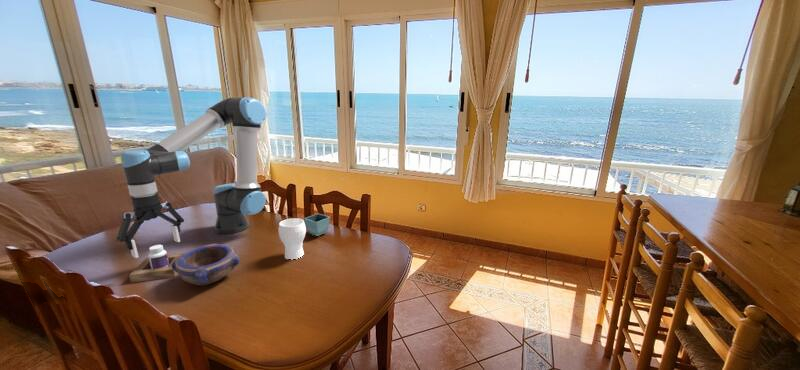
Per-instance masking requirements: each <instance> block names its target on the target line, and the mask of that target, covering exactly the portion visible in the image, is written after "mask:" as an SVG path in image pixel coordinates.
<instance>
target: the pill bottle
mask: <svg viewBox="0 0 800 370" xmlns="http://www.w3.org/2000/svg"><path fill="white" fill-rule="evenodd" d="M148 249H149V253H148V257H147V258H149V262H150V266H151V269H156V268H164V267H168V266H169V261H168V256H167V255H168V253H167V251H166V250H165V249H164V246H163V244H155V245H152V246H150V247H149V248H148Z"/></svg>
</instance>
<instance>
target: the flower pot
mask: <svg viewBox="0 0 800 370" xmlns="http://www.w3.org/2000/svg"><path fill="white" fill-rule="evenodd" d="M330 218H331V217H330V216H328V215H324V214H323V213H322V214H321V213H316V214H312V215H310V216H307V217H304V219H303V220H304V223H305V226H306V231H307V232H308V233H309V235H310V234H312V235H311V236H313V235H315V236H319V235H321V234H324V233H325V234H326V233H327V231H328V230H329V227H330V220H331V219H330ZM325 234H324V235H325ZM315 236H314V237H315ZM319 237H320V236H319Z"/></svg>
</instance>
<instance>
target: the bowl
mask: <svg viewBox="0 0 800 370" xmlns="http://www.w3.org/2000/svg"><path fill="white" fill-rule="evenodd" d="M184 253H185V254H183V255H182V256H180V257H179V258H177V259H176V260H175V261H174V262H173V263H172V268H173V269H174V270H175V271H176V272H178V273H177V275H179V277H180V278H181V280H183V281H185V282H186V283H188V284H191V285H196V286H207V285H209V284H210V285H211V284H213V283H215V282H219V281H221V280H222V278H225V277H226V276H227V275H229V273H230V272H231V271H232V270H234V268H236V267H237V266H238V265H239V264H240V262H241V260H240V258H241V257H240V256H239V255H238V254H237V253H236V252H235V251H234V249H233V248H232V247H230V246H228V245H226V244H220V243H212V244H206V245H202V246H198V247H195V248H193V249H190V250H188V251H186V252H184Z"/></svg>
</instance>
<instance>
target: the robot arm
mask: <svg viewBox="0 0 800 370" xmlns="http://www.w3.org/2000/svg"><path fill="white" fill-rule="evenodd" d="M266 117H267V112H266V108H265V105H264V104H262V102H261V101H260V100H258V99H257V98H253V97H248V96H247V97H227V98H225V99H223V100H221V101H219V102H217V103H216V104H214V105H212V106H210V107H208V108H207V109H205V113H204V114H203V115H200V116H199V117H198V118H196V119H195V120H193V121H191V122H189V123H187V124H186V125H185V126H183V127H182V128H180V129H178V130H177V131H175V132H173V133H171V134H170V135H169V136H167V137H165V138H163V139H162V140H160V141H159V142H157V143H155V144H154V145H152V146H150V147H149V148H143V149H136V150H133V149H132V150H126V151H123V152H122V153H120V161H121V167H122V169H123V173H124V176H125V180H126V183H127V184H126V185H127V188H128V193H129V196H131V197H130V201H131V204H132V207H133V211H129V212H127V211H124V212H123V213H122V222H121V224H120V228H119V230H118V233H117V236H116V241H117V242H120V243H124V244H125V247H126V249H127V250H128V251H130V252H131V256H132V257H133V258H135V259H137V258H139V257H140V256H139V253H138V249H137V245H136V241H135V239H134V237H135V235H136V233H137V232H138V231H139V229H140V227H141V226H142V225H143V223H144V222H145V221H150V220H153V219H157V218H158V217H160V218H161V219H164V220H165V221H167V222H169V223H171V224H172V225H170V227H171V231H172V236H173V237H172V238H173V241H175V242H177V243H180V242H181V238H180V233H181V225H182V223H184V222H185V219H184V218H183V217H182V216H181V215H180V214H179V212H177V211H176V210H175V209H174V207H173V206H172V203H171V202H169V201H164V202H163V203H161V200H160V197H159V193H158V187H157V183H156V179H155V176H161V175H165V174H170V173H177V172H182V171H187V170H188V169H189V168H190V166H191V161H190V157H189V155H188V154H187V153H186V152H185V150H187V149H188V148H190V147H191V146H193V145H195V144H196V143H197V142H200V140H202V139H203V138H205V137H206V136H208V135H209V134H211V133H212V132H214V131H215V130H217V129H218V128H220V129H221V128H222V129H223V128H224V127H225V126H227V125H230V124H231V125H232V128H233V129H234V130H235V131H236V132H235V134H236V135H235V138H236V139H235V140H236V146H235V147H236V182H232V183H231V182H230V183H225V184H221V185H220V184H219V185H216V186H215V187H213V198H214V204H215V210H216V220H215V224H214V230H215V233H217V234H219V235H220V234H221V235H230V234H235V233H236V234H237V233H239V232H242V230H243V231H245V230H247V229H248V228H249V227H250V222H249V219H248V218H247V216H246V215H252V216H253V215H256V214H258V213H260V212H261V211H262V210H263V209H264V207H265V205H266V202H267V198H266V197H267V196H266V195H265V194H264V193H263V191H262V190H261V189H262V187H261V185H260V184H259V183H258V132H259V131H260V130H261V129H262V127H261V124H263V123H264V121H266ZM163 208H164V209H166V210H167V211H168V212H169V213H170V215H171V216H173V218H172V217H170V216H168V215H166V214H165V213H163V212H162V210H163ZM133 217H135V219H134V220H133V223H132V225H130V224H131V220H132V219H133ZM175 219H176V220H175ZM248 226H249V227H248ZM246 228H247V229H246Z"/></svg>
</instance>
